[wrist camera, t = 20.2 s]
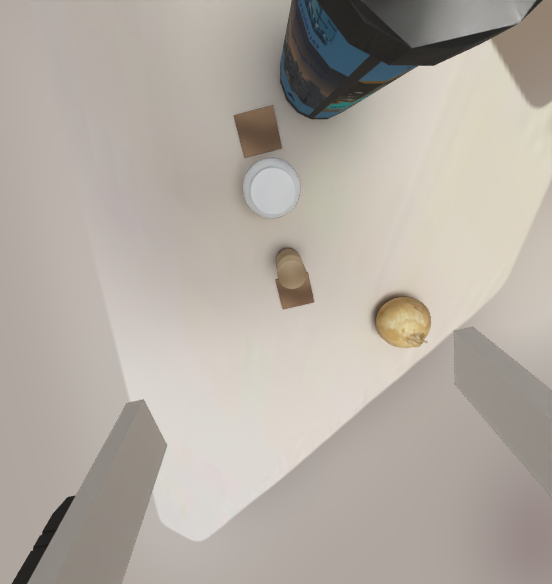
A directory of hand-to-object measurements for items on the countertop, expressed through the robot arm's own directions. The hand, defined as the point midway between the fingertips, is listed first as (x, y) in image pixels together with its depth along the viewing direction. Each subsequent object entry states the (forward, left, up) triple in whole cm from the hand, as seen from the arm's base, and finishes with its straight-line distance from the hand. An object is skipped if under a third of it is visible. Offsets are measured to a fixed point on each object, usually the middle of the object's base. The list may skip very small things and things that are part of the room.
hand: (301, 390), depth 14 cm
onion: (+18, +16, -35) cm, 42 cm away
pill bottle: (-6, +1, -35) cm, 35 cm away
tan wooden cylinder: (+5, +1, -35) cm, 35 cm away
